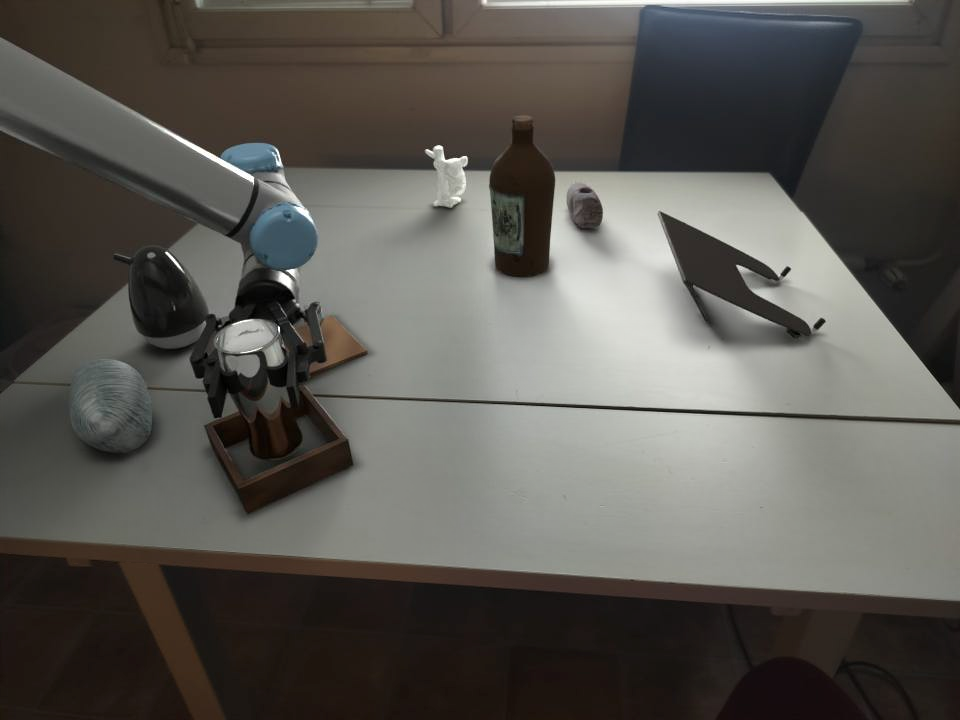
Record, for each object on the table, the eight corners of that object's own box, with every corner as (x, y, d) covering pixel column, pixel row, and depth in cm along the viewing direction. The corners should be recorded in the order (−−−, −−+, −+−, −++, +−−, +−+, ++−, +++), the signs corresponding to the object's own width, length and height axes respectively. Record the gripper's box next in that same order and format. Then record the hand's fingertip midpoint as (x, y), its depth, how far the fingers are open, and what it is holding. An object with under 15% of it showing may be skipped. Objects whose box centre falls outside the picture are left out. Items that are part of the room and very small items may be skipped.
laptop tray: (790, 381, 96) (836, 334, 91) (655, 320, 92) (694, 267, 87) (749, 300, 115) (784, 257, 110) (634, 246, 111) (666, 199, 105)
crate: (247, 514, 71) (238, 488, 69) (212, 449, 80) (203, 424, 78) (353, 465, 77) (348, 439, 75) (310, 409, 86) (304, 384, 83)
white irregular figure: (427, 210, 137) (422, 152, 130) (431, 197, 143) (427, 141, 136) (468, 210, 136) (465, 151, 129) (470, 197, 142) (468, 141, 135)
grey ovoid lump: (92, 409, 89) (29, 379, 80) (149, 362, 90) (92, 327, 81) (130, 481, 82) (65, 457, 73) (191, 429, 83) (134, 400, 74)
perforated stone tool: (559, 205, 137) (561, 172, 133) (585, 203, 137) (587, 170, 133) (575, 236, 125) (577, 200, 121) (603, 234, 125) (606, 198, 121)
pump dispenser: (160, 321, 105) (127, 231, 96) (225, 320, 104) (198, 230, 95) (130, 358, 96) (91, 264, 88) (200, 358, 96) (168, 264, 87)
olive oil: (518, 245, 122) (518, 104, 108) (564, 262, 116) (571, 115, 102) (478, 266, 116) (473, 120, 102) (525, 285, 110) (526, 133, 96)
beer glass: (300, 463, 74) (272, 353, 66) (238, 465, 74) (202, 355, 66) (312, 422, 80) (288, 316, 71) (255, 423, 80) (223, 318, 71)
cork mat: (288, 384, 90) (287, 381, 90) (257, 345, 98) (257, 341, 98) (367, 353, 96) (367, 350, 95) (332, 318, 104) (332, 315, 103)
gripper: (350, 308, 89) (357, 416, 71) (196, 326, 87) (162, 444, 68) (342, 258, 85) (347, 359, 67) (179, 275, 82) (138, 386, 64)
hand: (253, 402), depth 67 cm, fingers closed on beer glass, 7 cm apart
